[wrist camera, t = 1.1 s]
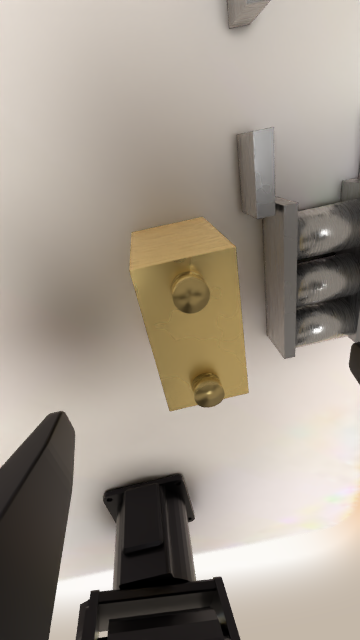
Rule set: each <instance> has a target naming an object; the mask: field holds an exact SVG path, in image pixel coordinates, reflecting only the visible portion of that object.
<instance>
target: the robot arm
mask: <svg viewBox="0 0 360 640" xmlns="http://www.w3.org/2000/svg"><path fill="white" fill-rule="evenodd" d="M349 367H350V370H351V372H352V374H353V375H354V377H355V378H356V380H357V381H358V383H359V384H360V342H356V343H354V344H353V345H352V346H351V353H350V360H349ZM74 450H75V431H74V428H73V426H72V424H71V422H70V421H69V419H68V417H67V415H66V413H65V412H63V411H59V412H54V413H51V414H49V415H48V416H47V417H46V418H45V419H44V420H43V421H42V422H41V423H40V424H39V426H38V427H37V428H36V429H35V430H34V431H33V432H32V433H31V435H30V436H29V437H28V438H27V439H26V440H25V441H24V442H23V443H22V445H21V446H20V447H19V448H18V449H17V450H16V451H15V452H14V453H13V455H12V456H11V457H10V458H9V459H8V460H7V461H6V462H5V464H4V465H3V466H2V467H1V468H0V640H48V639H49V633H50V626H51V620H52V613H53V608H54V601H55V595H56V589H57V582H58V576H59V570H60V563H61V557H62V551H63V544H64V538H65V532H66V526H67V519H68V513H69V507H70V500H71V494H72V486H73V470H74ZM103 501H104V503H105V505H106V507H107V508H108V510H109V512H110V514H111V515H112V517H113V519H114V520H115V522H116V541H115V559H114V578H113V590H111V591H102V592H100V591H99V590H94V591H91V594H90V599H89V600H88V601H86V602H84V603H82V604H80V611H79V619H78V627H77V634H76V640H240V637H239V634H238V630H237V627H236V624H235V620H234V617H233V613H232V610H231V607H230V603H229V600H228V597H227V593H226V590H225V587H224V583H223V580H222V578H221V577H214V578H213V579H209V580H201V581H196V577H195V570H194V562H193V555H192V548H191V541H190V534H189V527H188V522H191V521H193V520H194V519H195V516H194V511H193V508H192V505H191V501H190V498H189V495H188V491H187V488H186V485H185V482H184V478H183V476H181V475H175V476H171V477H166V478H162V479H158V480H154V481H150V482H145V483H141V484H137V485H133V486H129V487H124V488H120V489H116V490H112V491H108V492H106V493H104V497H103ZM101 631H108V637H103V638H99V632H101Z"/></svg>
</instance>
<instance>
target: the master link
mask: <svg viewBox="0 0 360 640" xmlns="http://www.w3.org/2000/svg"><path fill="white" fill-rule="evenodd" d="M129 271H130V275H131V278H132V282H133V285H134V289H135V292H136V296H137V299H138V303H139V306H140V310H141V313H142V317H143V320H144V324H145V327H146V331H147V334H148V338H149V341H150V345H151V348H152V352H153V355H154V359H155V362H156V365H157V369H158V372H159V376H160V379H161V383H162V386H163V390H164V393H165V397H166V400H167V404H168V407H169V411H174V410H178V409H182V408H186V407H191V406H195V405H199V406H201V407H213V406H216V405H217V404H219V403H220V402H221V401H222V400H223V399H225V398H229V397H233V396H238V395H242V394H246V393H249V391H248V380H247V368H246V357H245V346H244V334H243V323H242V312H241V300H240V289H239V278H238V266H237V255H236V247H235V246H234V245H233V244H232V243H231V242H230V241H229V240H228V239H227V238H225V237H224V236H223V235H222V234H221V233H220V232H219V231H218V230H217V229H216V228H214V227H213V226H212V225H211V224H210V223H209V222H208V221H207V220H206V219H205V218H203V217H199V218H195V219H190V220H186V221H181V222H176V223H172V224H167V225H163V226H158V227H154V228H149V229H145V230H140V231H135V232H132V234H131V250H130V267H129Z"/></svg>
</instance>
